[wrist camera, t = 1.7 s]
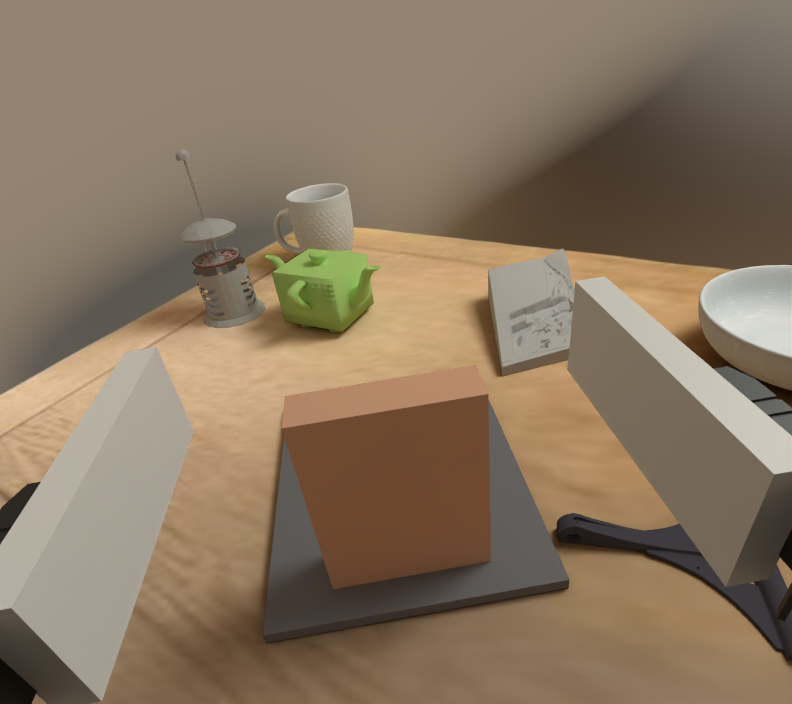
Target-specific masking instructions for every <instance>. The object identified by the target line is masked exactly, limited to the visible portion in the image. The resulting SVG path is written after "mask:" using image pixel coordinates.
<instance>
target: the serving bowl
mask: <svg viewBox="0 0 792 704" xmlns="http://www.w3.org/2000/svg"><path fill="white" fill-rule="evenodd" d="M699 320H700V325H701V328H702V331H703V333H704V335H705V337H706V339H707V340H708V342H709V343H710V345H711V346H712V347H713V349H714V350H715V351H716V352H717V353H718V354H719V355H720V356H721V357H722V358H724V359H725V360H726V361H727V362H729V363H730V364H731V365H733V366H734V367H736V368H737V369H739V370H741V371H743V372H744V373H746V374H748V375H750V376H752V377H754V378H757V379H759V380H761V381H764V382H766V383H769V384H772V385H775V386H778V387H781V388H784V389H788V390H792V265H772V266H771V265H769V266H756V267H749V268H742V269H738V270H733V271H730V272H727V273H724V274H721V275H719V276H717V277H715V278H714V279H712V280H711V281H709V282H708V283H707V284H706V285H705V286H704V287H703V289H702V290H701V293H700V296H699Z"/></svg>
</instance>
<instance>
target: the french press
mask: <svg viewBox="0 0 792 704" xmlns="http://www.w3.org/2000/svg"><path fill="white" fill-rule="evenodd" d="M189 158H191V156H190V154H189V152H187V151H185V150H180V151H177V153H176V159H177V160H178V161H179V160H183V161H184V164H185V167H186V170H187V173H188V176H189V179H190V182H191V185H192V188H193V191H194V194H195V197H196V200H197V203H198V206H199V209H200V212H201V214H202V218H203V219H202V220H201V221H198V222H195V223H193V224H191V225H190V226H188V227H186V229H185V230H184V231H183V232H182V234H181V235H180V239H181V240H183V241H185V242H186V243H192V244H196V243H202V244H203V247H204V250H205V253H202V254H201V255H198V256H197V257H195V259H194V260H193V263H192V264H193V265H195V266H196V268H195V270H194V276H195V279H196V282H197V283H198V287H199V285H200V286H201V288H200V287H199V290H200V292H201V296H202V298H203V301H204V300H205V301H206V302H205V301H204V304H205V305H206V309H207V312H208V313H207V314H206V316H205V321H204V322H205V323H206V324H207V325H208V326H210V327H215V328H229V327H233V326H238V325H242V324H244V323H247V322H249V321H251V320H253V319H255V318H256V317H258V316H259V315H260V314H262V312H263V311H264V309H265V304H264V303H263V302H262V301H260V300H259V299H257V297H256V294H255V292H254V288H253V289H252V287H253V285H252V281H251V283H250V280H251V278H250V275H249V276H248V273H249V271H248V269H247V264H246V261H245V259H244V258H242V257H239V256H240V250H238V249H236V248H222V249H221V248H220V249H217V248H216V245H215V240H218V239H221V238H224V237H226V236H228V235H230V234H232V233H233V232H234V231H235V228H236V224H234V223H232V222H230V221H227V220H225V219H210V218H207V219H204V216H203V213H202V210H201V206H200V204H199V200H198V197H197V194H196V192H195V188H194V185H193V182H192V179H191V176H190V173H189V170H188V167H187V164H186V161H185V160H186V159H189ZM212 241H213V243H212ZM209 242H211V245H212V248H213V250H212V251H206V248H205V245H204V243H209ZM213 244H214V246H213ZM214 247H215V249H214ZM239 263H244V264H243V265H242V266H241V267H239V268H237V267H236V265H237V264H239ZM219 266H220V267H221V270H222V273H223V274H221V275H218V274H217V271H216V268H215V267H219ZM198 275H203V277H202V276H198ZM246 278H249V280H248V282H243V283H241V281H244V280H246ZM249 285H251V288H250V289H248V287H249ZM246 288H247V289H246ZM243 289H245V290H243ZM204 290H208V292H209V293H205V292H203V291H204ZM202 293H203V294H204V295H202ZM206 297H208V298H211V300H207V299H206Z"/></svg>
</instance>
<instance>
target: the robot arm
mask: <svg viewBox="0 0 792 704" xmlns="http://www.w3.org/2000/svg"><path fill="white" fill-rule="evenodd" d="M567 370H568V371H569V372H570V374H571V375H572V377H573V378H574V379H575V381H576V382H577V383H578V385H579V386H580V388H581V389H582V390H583V392H584V393H585V394H586V396H587V397H588V399H589V400H590V401H591V403H592V404H593V405H594V407H595V408H596V410H597V411H598V412H599V414H600V415H601V416H602V418H603V419H604V420H605V422H606V423H607V425H608V426H609V427H610V429H611V430H612V431H613V433H614V434H615V436H616V437H617V438H618V440H619V441H620V442H621V444H622V445H623V447H624V448H625V449H626V451H627V452H628V453H629V455H630V456H631V458H632V459H633V460H634V462H635V463H636V464H637V466H638V467H639V469H640V470H641V471H642V473H643V474H644V475H645V477H646V478H647V480H648V481H649V482H650V484H651V485H652V486H653V488H654V489H655V491H656V492H657V493H658V495H659V496H660V497H661V499H662V500H663V501H664V503H665V504H666V506H667V507H668V508H669V510H670V511H671V512H672V514H673V515H674V517H675V518H676V519H677V521H678V522H679V523H680V525H681V526H682V528H683V529H684V530H685V532H686V533H687V534H688V536H689V537H690V539H691V540H692V541H693V543H694V544H695V545H696V547H697V548H698V550H699V551H700V552H701V554H702V555H703V556H704V558H705V559H706V561H707V562H708V563H709V565H710V566H711V567H712V569H713V570H714V571H715V573H716V574H717V576H718V577H719V578H720V580H721V581H722V582H723V584H724V585H725V587H728V586H734V585H739V584H745V583H750V582H756V581H761V580H766V579H769V577H770V576H771V574H772V572H773V570H774V568H775V566H776V564H777V562H778V560H779V558H781V559H782V560H783V561H784V562H785V563H786V564H787V566H788V567H789V568H790V569H791V570H792V408H791V407H790V406H789V405H788V404H786V403H785V402H784V401H783V400H781V399H780V400H778V399H777V396H776V395H775V394H774V393H773V392H771V391H770V390H769V389H767V388H766V387H765V386H764V385H762V384H761V383H760V382H759V381H757V380H756V379H754V378H752V377H750V376H748V375H746V374H743V373H741V372H739V371H737V370H735V369H733V368H730V367H728V366H726V367H720V368H714V369H713V368H712V367H710V366H709V365H708V364H707V363H706V362H704V361H703V360H702V359H701V358H700V357H699V356H697V355H696V354H695V353H694V352H693V351H692V350H690V349H689V348H688V347H687V346H686V345H685V344H683V343H682V342H681V341H680V340H679V339H677V338H676V337H675V336H674V335H673V334H672V333H670V332H669V331H668V330H667V329H666V328H665V327H663V326H662V325H661V324H660V323H659V322H658V321H656V320H655V319H654V318H653V317H652V316H651V315H649V314H648V313H647V312H646V311H645V310H643V309H642V308H641V307H640V306H639V305H638V304H636V303H635V302H634V301H633V300H632V299H631V298H629V297H628V296H627V295H626V294H625V293H624V292H622V291H621V290H620V289H619V288H618V287H616V286H615V285H614V284H613V283H612V282H611V281H609V280H608V279H607V278H606V277H599V278H592V279H586V280H580V281H575V292H574V303H573V314H572V325H571V336H570V347H569V358H568V369H567ZM193 432H194V430H193V428H192V425H191V423H190V421H189V419H188V416H187V414H186V412H185V410H184V408H183V405H182V403H181V401H180V399H179V396H178V394H177V392H176V390H175V388H174V385H173V383H172V381H171V379H170V376H169V374H168V372H167V370H166V367H165V365H164V363H163V361H162V359H161V356H160V354H159V352H158V350H157V347H155V348H148V349H142V350H136V351H129V352H125V353H124V355H123V356H122V358H121V359H120V361H119V362H118V364H117V365H116V367H115V368H114V370H113V371H112V373H111V375H110V376H109V378H108V379H107V381H106V382H105V384H104V385H103V387H102V388H101V390H100V392H99V393H98V395H97V396H96V398H95V399H94V401H93V402H92V404H91V405H90V407H89V409H88V410H87V412H86V413H85V415H84V416H83V418H82V419H81V421H80V422H79V424H78V425H77V427H76V429H75V430H74V432H73V433H72V435H71V436H70V438H69V439H68V441H67V442H66V444H65V446H64V447H63V449H62V450H61V452H60V453H59V455H58V456H57V458H56V459H55V461H54V463H53V464H52V466H51V467H50V469H49V470H48V472H47V473H46V475H45V476H44V478H43V479H42V481H41V482H37V483H31V484H27V485H26V486H25V487H24V488H23V489H21V490H20V491H19V492H18V493H17V494H16V495H15V496H14V497H13V498H11V499H10V500H9V501H8V502H7V503H6V504H5V505H4V506H3V507H2V508H1V509H0V704H31V703H32V701H33V699H34V697H35V695H36V694H37V695H38V696H39V697H40V698H42V699H43V700H44V701H45V702H46V703H47V704H90V703H95V702H101V701H102V699H103V696H104V693H105V690H106V687H107V685H108V682H109V679H110V676H111V673H112V670H113V667H114V664H115V661H116V658H117V655H118V652H119V649H120V646H121V644H122V641H123V638H124V635H125V632H126V629H127V626H128V623H129V620H130V617H131V614H132V611H133V608H134V605H135V602H136V600H137V597H138V594H139V591H140V588H141V585H142V582H143V579H144V576H145V573H146V570H147V567H148V564H149V561H150V558H151V556H152V553H153V550H154V547H155V544H156V541H157V538H158V535H159V532H160V529H161V526H162V523H163V520H164V517H165V515H166V512H167V509H168V506H169V503H170V500H171V497H172V494H173V491H174V488H175V485H176V482H177V479H178V476H179V473H180V471H181V468H182V465H183V462H184V459H185V456H186V453H187V450H188V447H189V444H190V441H191V438H192V435H193ZM791 610H792V583H791V585H790V587H789V589H788V590H787V592H786V594H785V596H784V598H783V599H782V601H781V603H780V605H779V607H778V613H777V619H779V620H782V621H785V620H786V618H787V617H788V615H789V613H790V612H791Z"/></svg>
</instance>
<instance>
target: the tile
mask: <svg viewBox="0 0 792 704" xmlns="http://www.w3.org/2000/svg"><path fill="white" fill-rule="evenodd" d="M281 429H282V432H283V435H284V438H285V441H286V444H287V447H288V450H289V454H290V457H291V460H292V463H293V466H294V469H295V472H296V475H297V478H298V482H299V485H300V488H301V491H302V494H303V497H304V500H305V503H306V506H307V510H308V513H309V516H310V519H311V522H312V525H313V528H314V531H315V534H316V538H317V541H318V544H319V547H320V550H321V553H322V556H323V559H324V562H325V566H326V569H327V572H328V575H329V578H330V581H331V584H332V587H333V589H338V588H344V587H349V586H355V585H360V584H366V583H371V582H377V581H383V580H388V579H394V578H399V577H405V576H410V575H416V574H422V573H427V572H433V571H438V570H444V569H450V568H455V567H461V566H466V565H472V564H477V563H483V562H489V561H491V526H490V467H489V407H488V392H487V390H486V388H485V386H484V384H483V381H482V379H481V377H480V375H479V373H478V370H477V368H476V366H475V365H474V366H468V367H461V368H455V369H449V370H443V371H437V372H431V373H425V374H419V375H413V376H407V377H401V378H394V379H388V380H382V381H376V382H370V383H364V384H358V385H352V386H346V387H340V388H334V389H327V390H321V391H315V392H309V393H303V394H297V395H291V396H285V402H284V411H283V419H282V428H281Z"/></svg>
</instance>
